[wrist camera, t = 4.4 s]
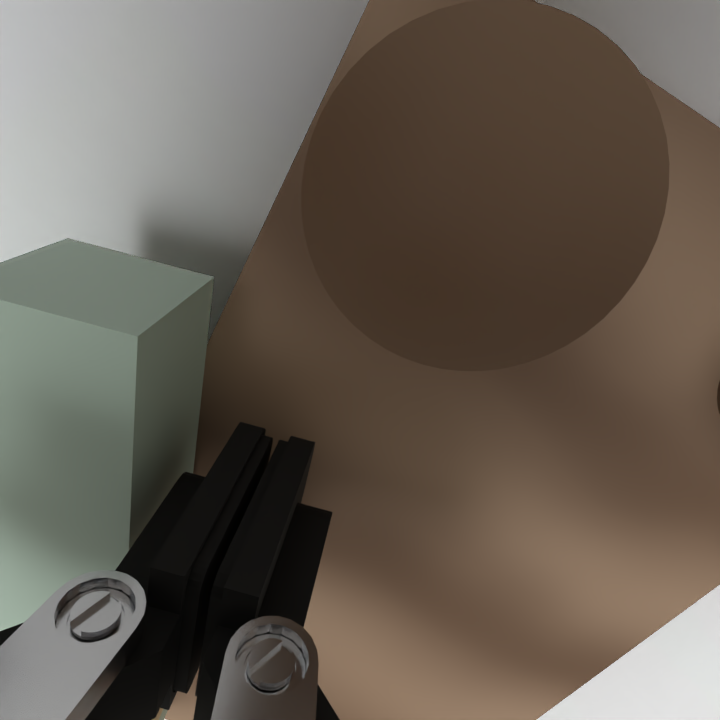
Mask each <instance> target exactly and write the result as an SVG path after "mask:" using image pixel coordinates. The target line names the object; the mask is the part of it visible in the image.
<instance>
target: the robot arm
mask: <svg viewBox="0 0 720 720" xmlns="http://www.w3.org/2000/svg"><path fill="white" fill-rule="evenodd" d="M265 433H266V429H265V428H262V427H258V426H254V425H251V424H247V423H243V422H240V423H239V424H238V425H237V427H236V429H235V430H234V432H233V433H232V435H231V437H230V438H229V440H228V441H227V443H226V445H225V446H224V448H223V450H222V451H221V453H220V454H219V456H218V458H217V459H216V461H215V462H214V464H213V466H212V467H211V469H210V471H209V472H208V474H207V475H206V477H203V476H200V475H196V474H193V473H189V472H184V473H183V474H182V475H181V476H180V477H179V479H178V480H177V481H176V483H175V484H174V486H173V487H172V489H171V490H170V492H169V493H168V495H167V496H166V497H165V499H164V500H163V502H162V503H161V505H160V506H159V508H158V509H157V510H156V512H155V513H154V515H153V516H152V518H151V519H150V521H149V522H148V524H147V525H146V526H145V528H144V529H143V531H142V532H141V534H140V535H139V537H138V538H137V539H136V541H135V542H134V544H133V545H132V547H131V548H130V550H129V551H128V553H127V554H126V555H125V557H124V558H123V560H122V561H121V563H120V564H119V566H118V567H117V568H116V570H98V571H94V572H89V573H85V574H82V575H80V576H78V577H76V578H74V579H71V580H69V581H68V582H67V583H65V584H64V585H63V586H61V587H60V588H59V589H58V590H56V591H55V592H54V593H53V594H52V595H51V596H50V597H49V598H48V599H47V600H46V601H45V602H44V603H43V604H42V605H41V606H40V607H39V608H38V609H37V610H36V611H35V612H34V613H33V614H32V615H31V616H30V617H29V618H28V619H27V620H26V621H25V622H24V623H21V624H18V625H16V626H13V627H10V628H7V629H5V630H2V631H0V720H152V719H154V718H156V716H157V714H158V712H159V709H160V708H162V709H166V710H169V709H170V707H171V704H172V702H173V700H174V698H175V695H176V693H177V691H179V692H182V693H186V694H187V693H188V691H189V689H190V687H191V685H192V683H193V680H194V678H195V675H196V673H197V671H198V668H199V672H198V679H197V685H196V691H195V696H197V699H196V706H195V712H194V718H193V720H340V719H339V718H338V716H337V714H336V713H335V711H334V709H333V708H332V706H331V705H330V703H329V701H328V700H327V698H326V696H325V695H324V693H323V692H322V690H321V688H320V687H319V685H318V666H319V662H318V653H317V648H316V646H315V644H314V641H313V639H312V637H311V636H310V635H309V633H308V632H307V631H306V630H305V629H304V624H305V620H306V616H307V612H308V608H309V604H310V600H311V596H312V592H313V588H314V584H315V580H316V576H317V572H318V568H319V564H320V560H321V556H322V553H323V549H324V545H325V541H326V537H327V533H328V529H329V525H330V521H331V517H332V513H333V512H331V511H327V510H324V509H320V508H316V507H313V506H309V505H305V504H302V503H301V501H302V497H303V493H304V489H305V485H306V481H307V477H308V472H309V468H310V464H311V460H312V456H313V452H314V447H315V442H313V441H309V440H306V439H302V438H298V437H295V436H290V438H289V441H288V442H287V441H284V440H279V441H278V443H277V445H276V448H275V450H274V452H273V454H272V456H271V458H270V453H271V448H272V443H273V438H272V437H269V436H265ZM269 458H270V460H269Z"/></svg>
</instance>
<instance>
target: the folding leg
mask: <svg viewBox="0 0 720 720" xmlns="http://www.w3.org/2000/svg"><path fill="white" fill-rule="evenodd" d="M213 285H214V277H212V276H208V275H205V274H201V273H197V272H193V271H190V270H186V269H182V268H178V267H175V266H171V265H167V264H163V263H159V262H156V261H152V260H148V259H144V258H141V257H137V256H133V255H129V254H125V253H122V252H118V251H114V250H110V249H107V248H103V247H99V246H95V245H92V244H88V243H84V242H80V241H76V240H73V239H69V238H67V239H64V240H62V241H59V242H56V243H53V244H51V245H48V246H45V247H42V248H40V249H37V250H34V251H31V252H28V253H26V254H23V255H20V256H17V257H15V258H12V259H9V260H6V261H4V262H1V263H0V631H2V630H5V629H7V628H10V627H13V626H16V625H18V624H21V623H24V622H25V621H26V620H27V619H28V618H29V617H30V616H31V615H32V614H33V613H34V612H35V611H36V610H37V609H38V608H39V607H40V606H41V605H42V604H43V603H44V602H45V601H46V600H47V599H48V598H49V597H50V596H51V595H52V594H53V593H54V592H55V591H56V590H58V589H59V588H60V587H61V586H63V585H64V584H65V583H67V582H68V581H69V580H71V579H74V578H76V577H78V576H80V575H82V574H85V573H89V572H94V571H98V570H116V568H117V567H118V566H119V564H120V563H121V561H122V560H123V558H124V557H125V555H126V554H127V553H128V551H129V550H130V548H131V547H132V545H133V544H134V542H135V541H136V539H137V538H138V537H139V535H140V534H141V532H142V531H143V529H144V528H145V526H146V525H147V524H148V522H149V521H150V519H151V518H152V516H153V515H154V513H155V512H156V510H157V509H158V508H159V506H160V505H161V503H162V502H163V500H164V499H165V497H166V496H167V495H168V493H169V492H170V490H171V489H172V487H173V486H174V484H175V483H176V481H177V480H178V479H179V477H180V476H181V475H182V474H183V473H184V472H189V473H193V469H194V460H195V451H196V441H197V432H198V423H199V414H200V405H201V395H202V386H203V377H204V368H205V358H206V349H207V340H208V331H209V322H210V312H211V303H212V294H213ZM166 714H167V710H166V709H162V708H160V709H159V712H158V714H157V716H156V718H154V719H152V720H164V718H165V716H166Z"/></svg>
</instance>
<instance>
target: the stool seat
mask: <svg viewBox="0 0 720 720" xmlns="http://www.w3.org/2000/svg"><path fill="white" fill-rule="evenodd" d="M240 422H243V423H247V424H251V425H254V426H258V427H262V428H265V429H266V433H265V436H269V437H272V438H273V443H272V448H271V453H270V458H271V456H272V454H273V452H274V450H275V448H276V445H277V443H278V441H279V440H284V441H287V442H288V441H289V438H290V436H295V437H298V438H302V439H306V440H309V441H313V442H315V447H314V452H313V456H312V460H311V464H310V468H309V472H308V477H307V481H306V485H305V489H304V493H303V497H302V501H301V503H302V504H305V505H309V506H313V507H316V508H320V509H324V510H327V511H331V512H333V513H332V517H331V521H330V525H329V529H328V533H327V537H326V541H325V545H324V549H323V553H322V556H321V560H320V564H319V568H318V572H317V576H316V580H315V584H314V588H313V592H312V596H311V600H310V604H309V608H308V612H307V616H306V620H305V624H304V629H305V630H306V631H307V632H308V633H309V635H310V636H311V637H312V639H313V641H314V644H315V646H316V648H317V653H318V662H319V666H318V685H319V687H320V688H321V690H322V692H323V693H324V695H325V696H326V698H327V700H328V701H329V703H330V705H331V706H332V708H333V709H334V711H335V713H336V714H337V716H338V718H339V719H340V720H536V719H538V718H539V717H540V716H542V715H543V714H544V713H546V712H547V711H549V710H550V709H551V708H553V707H554V706H555V705H557V704H558V703H559V702H561V701H562V700H563V699H565V698H566V697H568V696H569V695H570V694H572V693H573V692H574V691H576V690H577V689H578V688H580V687H581V686H582V685H584V684H585V683H587V682H588V681H589V680H591V679H592V678H593V677H595V676H596V675H597V674H599V673H600V672H601V671H603V670H604V669H606V668H607V667H608V666H610V665H611V664H612V663H614V662H615V661H616V660H618V659H619V658H620V657H622V656H623V655H625V654H626V653H627V652H629V651H630V650H631V649H633V648H634V647H635V646H637V645H638V644H639V643H641V642H642V641H644V640H645V639H646V638H648V637H649V636H650V635H652V634H653V633H654V632H656V631H657V630H658V629H660V628H661V627H663V626H664V625H665V624H667V623H668V622H669V621H671V620H672V619H673V618H675V617H676V616H677V615H679V614H680V613H682V612H683V611H684V610H686V609H687V608H688V607H690V606H691V605H692V604H694V603H695V602H697V601H698V600H699V599H701V598H702V597H703V596H705V595H706V594H707V593H709V592H710V591H711V590H713V589H714V588H716V587H717V586H718V585H720V128H719V127H717V126H716V125H715V124H713V123H712V122H710V121H709V120H707V119H706V118H704V117H703V116H701V115H700V114H699V113H697V112H696V111H694V110H693V109H691V108H690V107H688V106H687V105H685V104H684V103H683V102H681V101H680V100H678V99H677V98H675V97H674V96H672V95H671V94H669V93H668V92H667V91H665V90H664V89H662V88H661V87H659V86H658V85H656V84H655V83H653V82H652V81H650V80H649V79H648V78H646V77H645V76H643V75H642V74H640V72H639V70H638V69H637V67H636V66H635V65H634V63H633V62H632V61H631V60H630V59H629V58H628V57H627V56H626V54H625V53H624V52H623V51H622V50H621V49H620V48H619V46H618V45H616V44H615V43H614V42H613V41H611V40H610V39H609V38H608V37H607V36H605V35H604V34H603V33H602V32H600V31H599V30H598V29H597V28H595V27H593V26H592V25H590V24H588V23H586V22H585V21H583V20H581V19H579V18H578V17H576V16H574V15H572V14H569V13H566V12H564V11H561V10H559V9H556V8H553V7H551V6H548V5H543V4H538V3H537V2H535V1H534V0H369V2H368V4H367V6H366V9H365V11H364V13H363V15H362V17H361V19H360V21H359V23H358V26H357V28H356V30H355V32H354V34H353V36H352V38H351V40H350V42H349V45H348V47H347V49H346V51H345V53H344V55H343V57H342V59H341V62H340V64H339V66H338V68H337V70H336V72H335V74H334V76H333V79H332V81H331V83H330V85H329V87H328V89H327V91H326V93H325V96H324V98H323V100H322V102H321V104H320V106H319V108H318V110H317V112H316V115H315V117H314V119H313V121H312V123H311V125H310V127H309V129H308V132H307V134H306V136H305V138H304V140H303V142H302V144H301V146H300V149H299V151H298V153H297V155H296V157H295V159H294V161H293V163H292V165H291V168H290V170H289V172H288V174H287V176H286V178H285V180H284V182H283V185H282V187H281V189H280V191H279V193H278V195H277V197H276V199H275V202H274V204H273V206H272V208H271V210H270V212H269V214H268V216H267V219H266V221H265V223H264V225H263V227H262V229H261V231H260V233H259V235H258V238H257V240H256V242H255V244H254V246H253V248H252V250H251V252H250V255H249V257H248V259H247V261H246V263H245V265H244V267H243V269H242V272H241V274H240V276H239V278H238V280H237V282H236V284H235V286H234V289H233V291H232V293H231V295H230V297H229V299H228V301H227V303H226V305H225V308H224V310H223V312H222V314H221V316H220V318H219V320H218V322H217V325H216V327H215V329H214V331H213V333H212V335H211V337H210V339H209V342H208V344H207V349H206V358H205V368H204V377H203V386H202V395H201V405H200V414H199V423H198V432H197V441H196V451H195V460H194V469H193V474H196V475H200V476H203V477H206V475H207V474H208V472H209V471H210V469H211V467H212V466H213V464H214V462H215V461H216V459H217V458H218V456H219V454H220V453H221V451H222V450H223V448H224V446H225V445H226V443H227V441H228V440H229V438H230V437H231V435H232V433H233V432H234V430H235V429H236V427H237V425H238V424H239V423H240ZM270 458H269V460H270ZM198 672H199V668H198V671H197V673H196V675H195V678H194V680H193V683H192V685H191V687H190V689H189V691H188V693H187V694H186V693H182V692H179V691H177V693H176V695H175V698H174V700H173V702H172V704H171V707H170V709H169V710H167V714H166V716H165V719H167V720H193V718H194V712H195V706H196V699H197V696H195V691H196V685H197V679H198Z"/></svg>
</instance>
